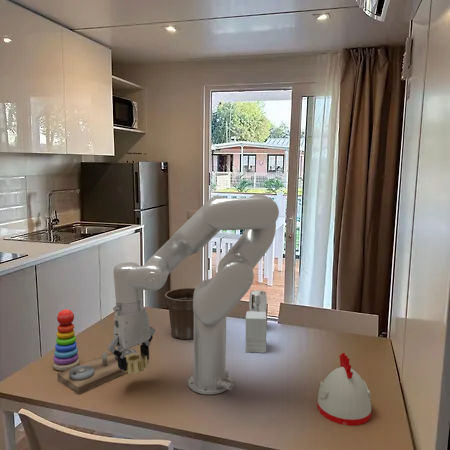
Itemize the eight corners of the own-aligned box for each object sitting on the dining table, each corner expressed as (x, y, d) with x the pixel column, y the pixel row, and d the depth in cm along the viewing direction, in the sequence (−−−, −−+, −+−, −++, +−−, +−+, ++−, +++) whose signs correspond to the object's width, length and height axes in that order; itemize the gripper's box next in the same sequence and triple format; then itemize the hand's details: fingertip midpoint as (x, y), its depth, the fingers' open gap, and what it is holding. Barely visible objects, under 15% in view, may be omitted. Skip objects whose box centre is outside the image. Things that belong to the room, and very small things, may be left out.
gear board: (148, 363, 136) (148, 345, 135) (79, 394, 117) (78, 374, 116) (126, 352, 143) (125, 335, 142) (57, 379, 124) (56, 361, 123)
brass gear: (152, 366, 121) (151, 356, 121) (132, 376, 116) (131, 366, 115) (136, 359, 126) (136, 350, 126) (116, 369, 120) (115, 359, 120)
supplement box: (266, 344, 151) (266, 311, 149) (266, 353, 143) (266, 318, 142) (245, 343, 151) (246, 310, 150) (244, 352, 144) (245, 317, 142)
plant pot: (160, 329, 164) (160, 290, 162) (198, 323, 171) (198, 285, 168) (173, 345, 149) (172, 302, 147) (214, 338, 156) (214, 296, 154)
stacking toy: (70, 373, 128) (68, 315, 126) (47, 370, 130) (44, 313, 127) (84, 361, 136) (82, 307, 133) (62, 359, 138) (59, 305, 135)
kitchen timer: (360, 395, 118) (363, 345, 116) (379, 425, 104) (383, 369, 102) (311, 395, 117) (313, 345, 115) (325, 425, 103) (327, 369, 101)
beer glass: (260, 333, 160) (260, 296, 158) (245, 329, 164) (245, 293, 162) (269, 328, 166) (270, 292, 164) (254, 324, 170) (255, 289, 168)
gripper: (111, 317, 109) (117, 380, 112) (161, 299, 122) (165, 356, 125) (95, 312, 114) (101, 372, 117) (145, 295, 127) (149, 349, 130)
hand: (134, 363), depth 121 cm, fingers closed on brass gear, 7 cm apart
